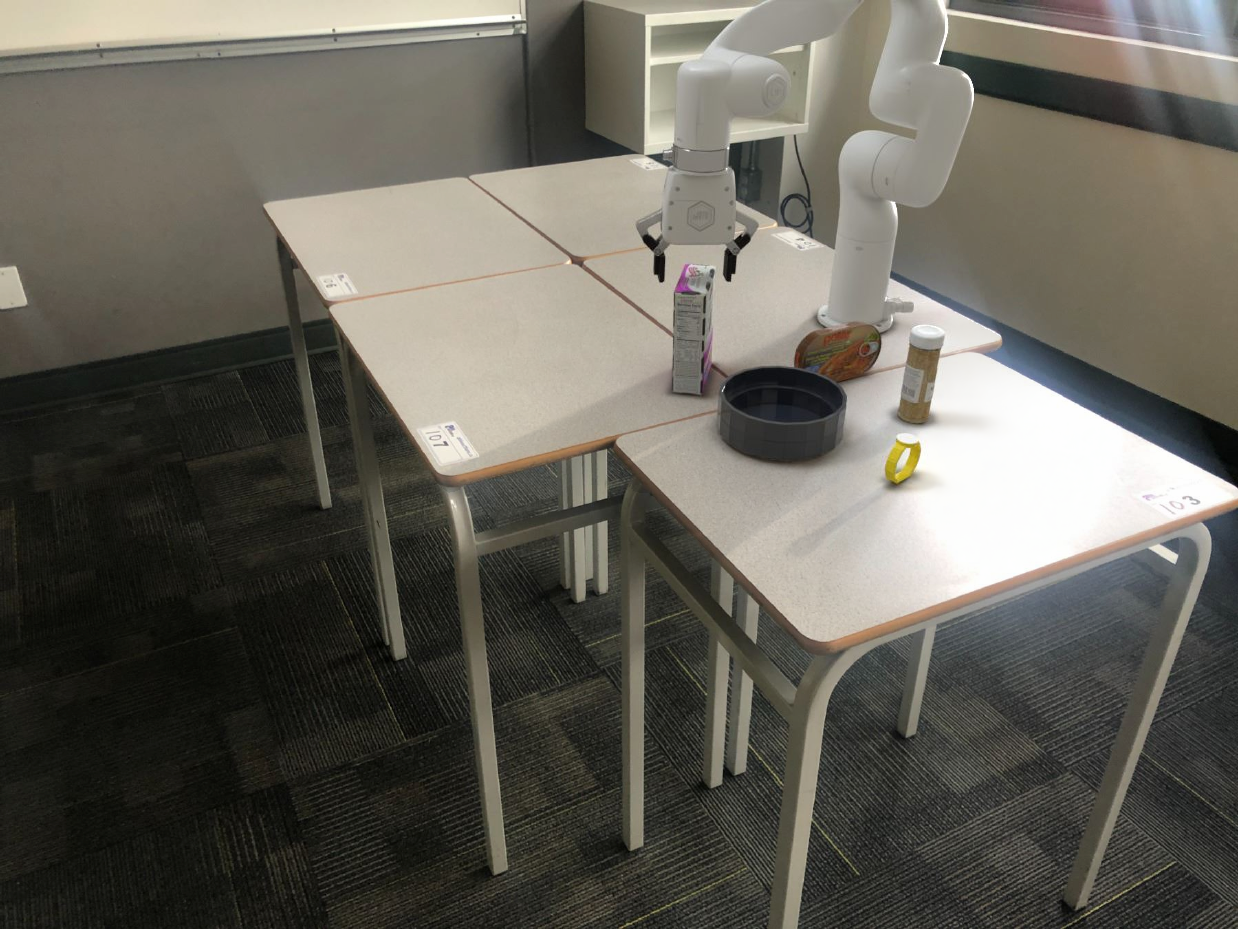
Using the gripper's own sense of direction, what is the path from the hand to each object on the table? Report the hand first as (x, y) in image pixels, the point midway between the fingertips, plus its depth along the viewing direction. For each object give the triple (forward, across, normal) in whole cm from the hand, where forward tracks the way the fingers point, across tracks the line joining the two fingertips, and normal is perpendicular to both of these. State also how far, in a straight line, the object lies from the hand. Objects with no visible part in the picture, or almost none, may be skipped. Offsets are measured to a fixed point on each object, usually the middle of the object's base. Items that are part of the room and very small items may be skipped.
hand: (693, 278), depth 143 cm
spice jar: (+16, +30, -14) cm, 37 cm away
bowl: (+16, +10, -17) cm, 26 cm away
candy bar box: (+16, 0, 0) cm, 16 cm away
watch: (+16, +24, -30) cm, 41 cm away
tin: (+16, +22, -1) cm, 28 cm away
